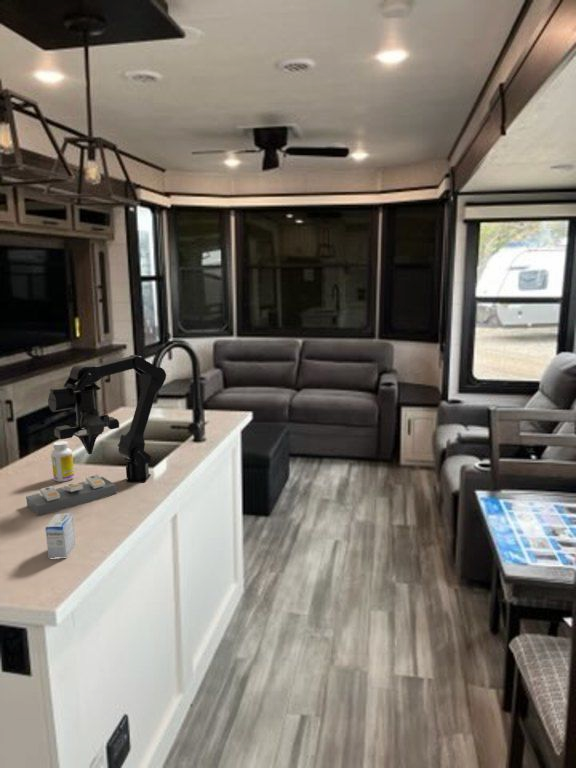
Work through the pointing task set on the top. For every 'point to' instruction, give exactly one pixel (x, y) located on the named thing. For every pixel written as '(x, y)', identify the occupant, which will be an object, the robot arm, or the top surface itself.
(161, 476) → the top surface
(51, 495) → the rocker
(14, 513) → the top surface
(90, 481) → the block
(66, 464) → the supplement bottle
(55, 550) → the medicine box
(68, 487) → the rocker middle
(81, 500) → the rocker switch panel
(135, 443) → the robot arm
